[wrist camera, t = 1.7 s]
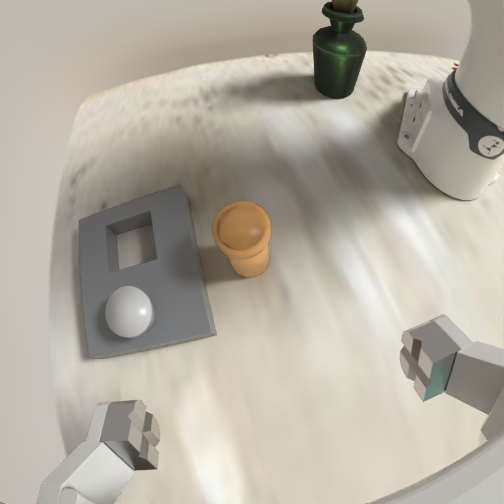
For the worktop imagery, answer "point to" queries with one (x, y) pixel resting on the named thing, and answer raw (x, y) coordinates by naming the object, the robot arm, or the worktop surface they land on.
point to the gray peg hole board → (143, 279)
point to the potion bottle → (338, 49)
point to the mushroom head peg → (244, 237)
